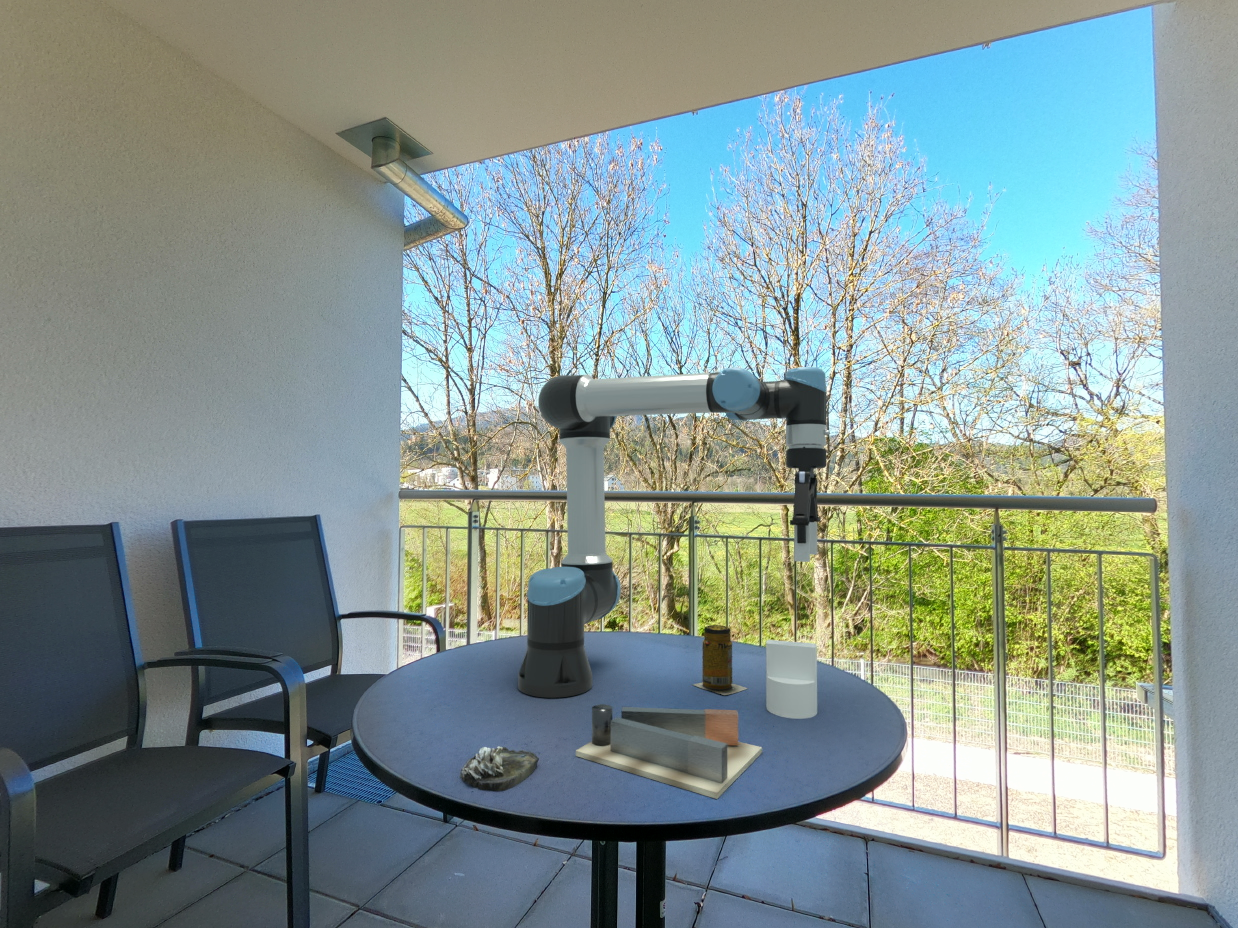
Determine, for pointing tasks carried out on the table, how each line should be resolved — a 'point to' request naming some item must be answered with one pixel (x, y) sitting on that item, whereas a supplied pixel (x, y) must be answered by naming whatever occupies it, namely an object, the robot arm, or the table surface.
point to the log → (498, 768)
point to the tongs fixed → (660, 745)
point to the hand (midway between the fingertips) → (806, 557)
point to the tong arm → (689, 721)
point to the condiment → (718, 661)
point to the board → (736, 765)
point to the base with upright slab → (791, 679)
